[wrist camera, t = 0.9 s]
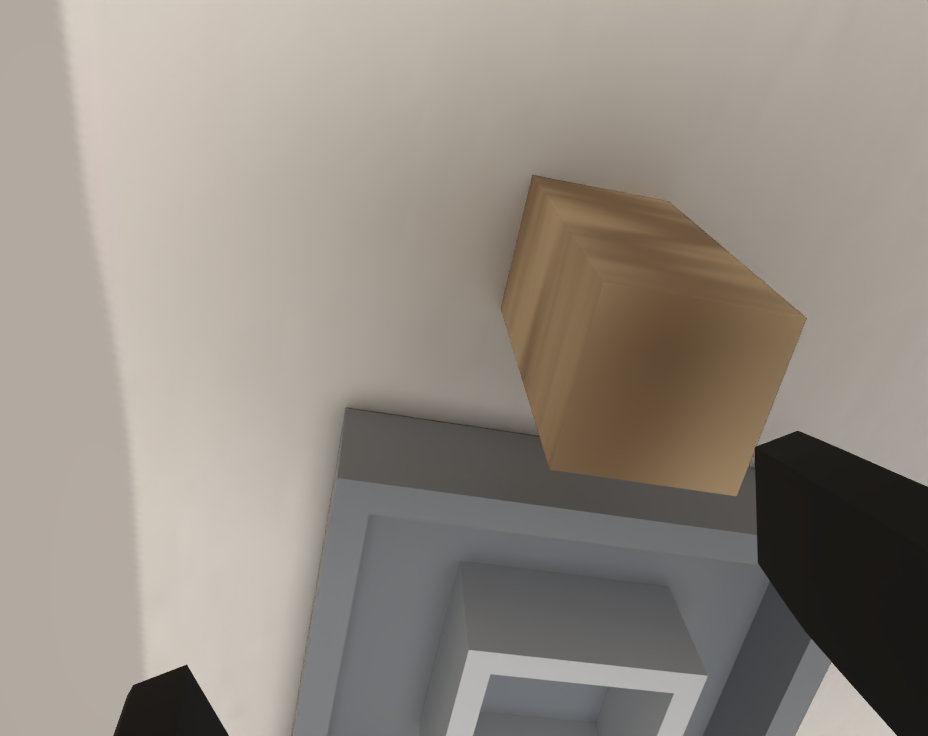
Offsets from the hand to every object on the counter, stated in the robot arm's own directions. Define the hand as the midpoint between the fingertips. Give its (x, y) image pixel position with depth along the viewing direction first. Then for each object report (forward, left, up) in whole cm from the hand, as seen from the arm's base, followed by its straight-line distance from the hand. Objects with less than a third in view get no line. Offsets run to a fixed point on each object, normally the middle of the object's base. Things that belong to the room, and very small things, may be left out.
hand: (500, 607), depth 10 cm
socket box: (-6, +14, -15) cm, 21 cm away
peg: (-4, 0, -15) cm, 16 cm away
